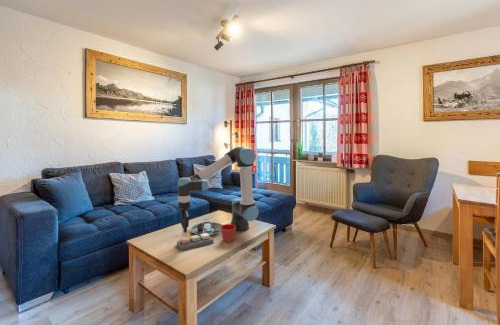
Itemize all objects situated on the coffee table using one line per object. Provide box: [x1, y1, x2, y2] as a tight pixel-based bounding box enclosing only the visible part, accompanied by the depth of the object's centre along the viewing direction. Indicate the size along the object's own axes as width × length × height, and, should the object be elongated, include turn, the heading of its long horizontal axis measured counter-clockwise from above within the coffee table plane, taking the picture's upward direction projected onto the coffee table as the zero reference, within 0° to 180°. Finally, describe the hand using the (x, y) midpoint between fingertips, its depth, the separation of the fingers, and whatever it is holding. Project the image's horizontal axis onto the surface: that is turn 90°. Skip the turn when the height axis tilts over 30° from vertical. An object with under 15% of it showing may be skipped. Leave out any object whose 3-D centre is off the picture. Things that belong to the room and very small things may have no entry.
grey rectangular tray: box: [176, 235, 214, 251], centre depth 173 cm, size 22×10×3 cm, turn 122°
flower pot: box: [220, 223, 236, 243], centre depth 180 cm, size 11×11×10 cm
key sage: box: [190, 234, 200, 242], centre depth 173 cm, size 5×5×2 cm
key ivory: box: [199, 232, 211, 240], centre depth 177 cm, size 5×5×2 cm
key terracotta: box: [180, 236, 190, 244], centre depth 169 cm, size 5×5×2 cm
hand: (184, 236), depth 169 cm, fingers closed
